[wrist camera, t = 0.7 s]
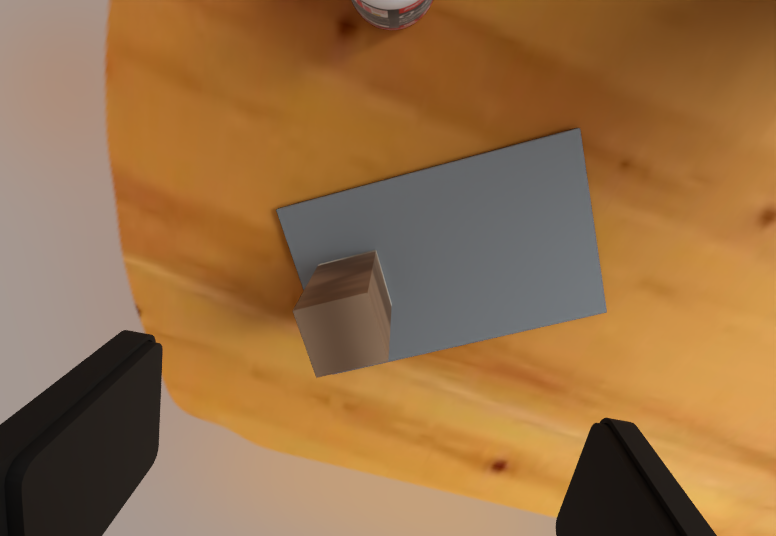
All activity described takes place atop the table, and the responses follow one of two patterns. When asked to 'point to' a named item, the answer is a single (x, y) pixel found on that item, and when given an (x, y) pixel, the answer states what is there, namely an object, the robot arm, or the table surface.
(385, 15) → the pill bottle
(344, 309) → the block
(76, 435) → the robot arm
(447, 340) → the mat
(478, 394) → the table surface
